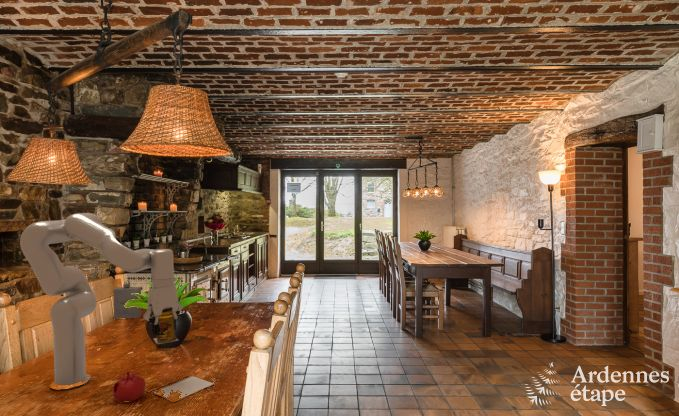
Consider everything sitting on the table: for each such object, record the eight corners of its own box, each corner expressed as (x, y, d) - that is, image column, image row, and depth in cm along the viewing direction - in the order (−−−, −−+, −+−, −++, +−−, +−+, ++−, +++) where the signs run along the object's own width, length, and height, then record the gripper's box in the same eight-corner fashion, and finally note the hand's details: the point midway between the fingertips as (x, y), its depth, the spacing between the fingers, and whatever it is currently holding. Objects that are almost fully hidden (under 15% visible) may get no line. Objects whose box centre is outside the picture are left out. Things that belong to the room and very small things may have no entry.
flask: (111, 320, 238) (111, 284, 238) (116, 317, 244) (115, 283, 244) (138, 319, 239) (138, 284, 239) (142, 316, 245) (142, 282, 244)
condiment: (157, 345, 147) (156, 311, 147) (153, 339, 155) (152, 306, 155) (178, 340, 151) (177, 307, 151) (174, 335, 158) (173, 303, 158)
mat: (152, 394, 142) (152, 392, 142) (192, 377, 155) (192, 376, 155) (174, 403, 135) (174, 401, 135) (214, 385, 148) (214, 383, 148)
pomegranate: (150, 391, 144) (150, 364, 144) (137, 405, 134) (137, 376, 134) (121, 392, 144) (121, 365, 144) (106, 406, 134) (105, 377, 134)
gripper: (177, 278, 162) (178, 325, 162) (134, 286, 147) (136, 337, 147) (189, 280, 158) (190, 327, 158) (147, 288, 143) (148, 340, 143)
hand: (164, 331), depth 153 cm, fingers closed on condiment, 6 cm apart
